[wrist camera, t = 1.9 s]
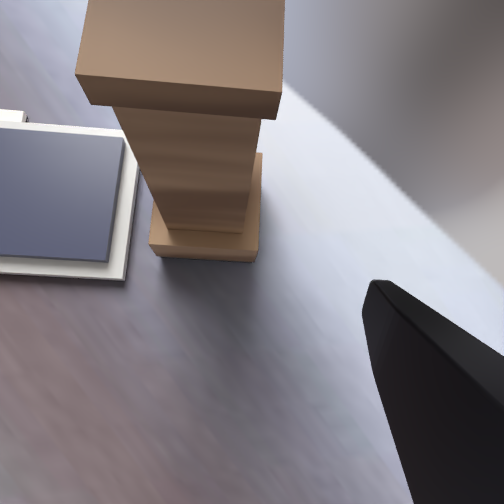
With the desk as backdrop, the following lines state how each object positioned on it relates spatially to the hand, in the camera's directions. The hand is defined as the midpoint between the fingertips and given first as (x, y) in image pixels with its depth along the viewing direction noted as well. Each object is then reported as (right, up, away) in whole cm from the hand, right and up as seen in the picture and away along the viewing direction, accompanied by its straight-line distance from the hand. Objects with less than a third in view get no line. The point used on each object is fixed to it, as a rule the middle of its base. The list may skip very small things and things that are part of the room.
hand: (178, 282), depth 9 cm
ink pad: (-9, +4, +13) cm, 16 cm away
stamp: (-1, +3, +13) cm, 13 cm away
